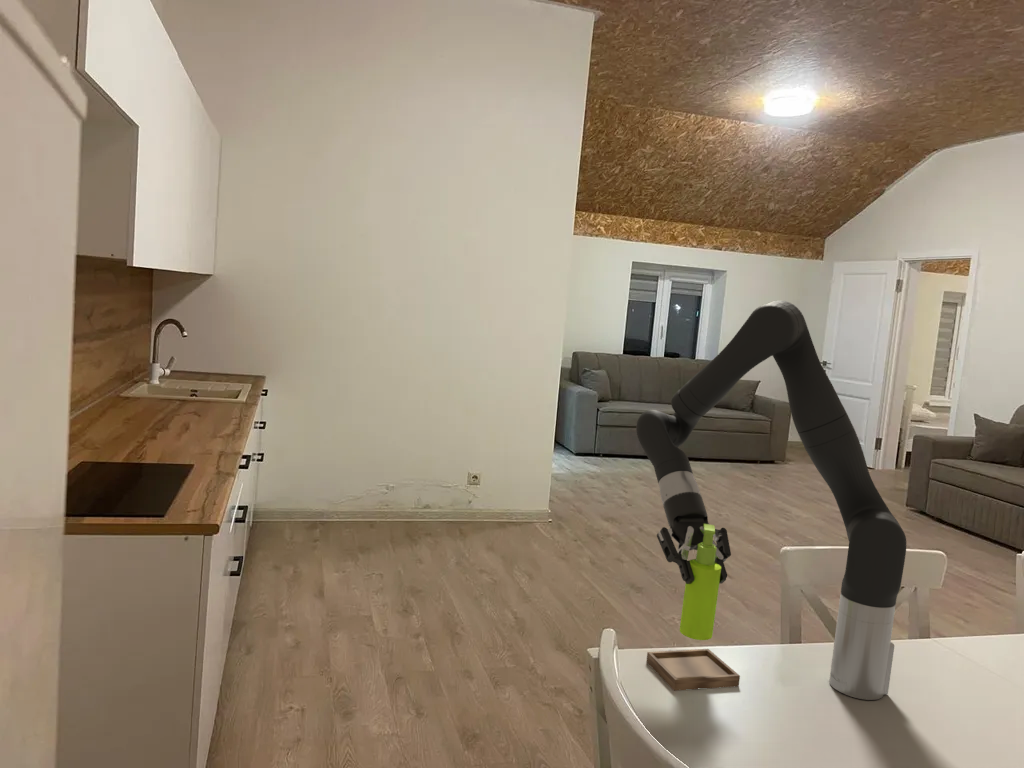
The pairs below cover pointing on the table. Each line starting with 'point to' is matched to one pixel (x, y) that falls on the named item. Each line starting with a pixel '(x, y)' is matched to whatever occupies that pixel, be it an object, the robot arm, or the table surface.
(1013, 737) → the table surface
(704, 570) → the soap dispenser
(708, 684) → the soap tray
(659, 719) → the table surface
